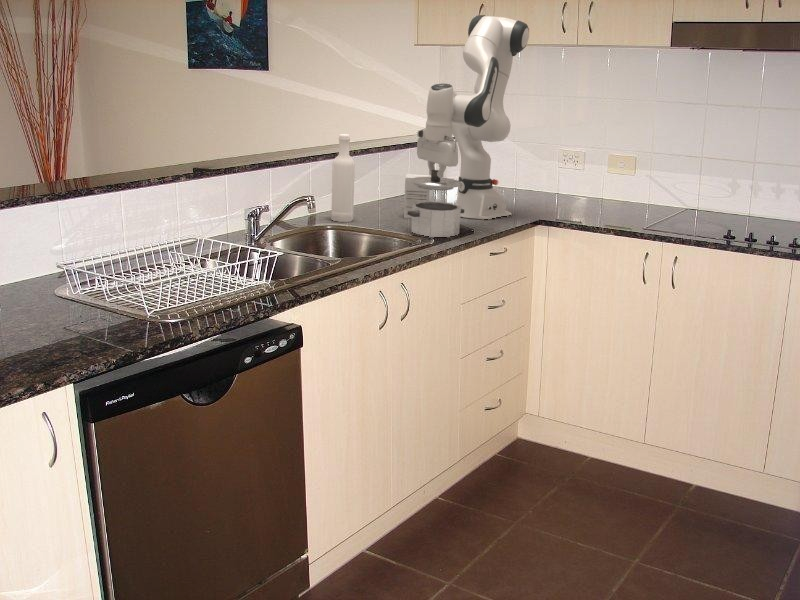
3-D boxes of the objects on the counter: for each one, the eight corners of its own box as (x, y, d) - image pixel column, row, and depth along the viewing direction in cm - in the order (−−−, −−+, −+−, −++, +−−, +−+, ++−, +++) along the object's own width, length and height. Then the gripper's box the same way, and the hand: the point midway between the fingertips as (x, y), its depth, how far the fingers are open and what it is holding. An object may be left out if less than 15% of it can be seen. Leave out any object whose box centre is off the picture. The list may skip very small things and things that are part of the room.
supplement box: (403, 213, 329) (405, 173, 324) (427, 214, 329) (430, 174, 324) (403, 218, 320) (405, 177, 316) (427, 219, 320) (430, 178, 316)
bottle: (351, 217, 317) (353, 133, 308) (355, 222, 309) (358, 136, 300) (329, 217, 315) (331, 132, 306) (332, 222, 307) (335, 135, 299)
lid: (442, 181, 307) (443, 166, 305) (470, 190, 293) (471, 173, 292) (400, 183, 299) (401, 167, 297) (427, 192, 285) (428, 175, 283)
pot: (446, 225, 312) (448, 200, 309) (473, 235, 299) (475, 208, 296) (397, 229, 301) (398, 203, 299) (422, 239, 288) (424, 212, 286)
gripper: (464, 138, 284) (461, 180, 288) (430, 130, 301) (427, 171, 305) (448, 138, 281) (445, 181, 285) (414, 130, 297) (412, 171, 301)
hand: (436, 176), depth 295 cm, fingers closed on lid, 3 cm apart
